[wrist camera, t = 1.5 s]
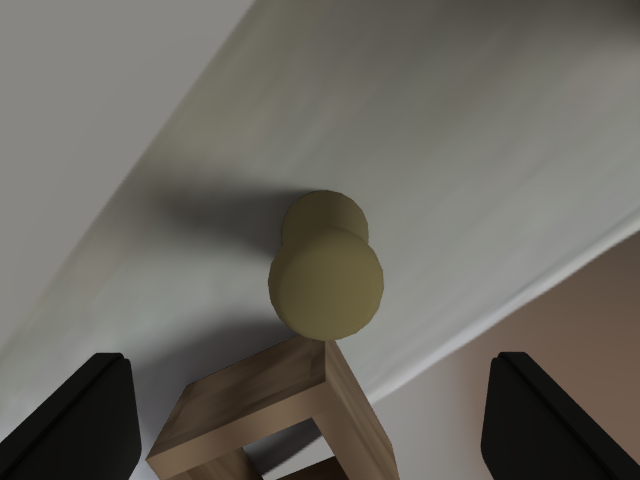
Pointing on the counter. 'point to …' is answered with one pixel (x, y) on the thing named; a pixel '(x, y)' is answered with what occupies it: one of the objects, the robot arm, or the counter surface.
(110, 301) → the counter surface
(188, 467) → the box
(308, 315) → the cork
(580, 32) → the counter surface
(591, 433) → the robot arm
